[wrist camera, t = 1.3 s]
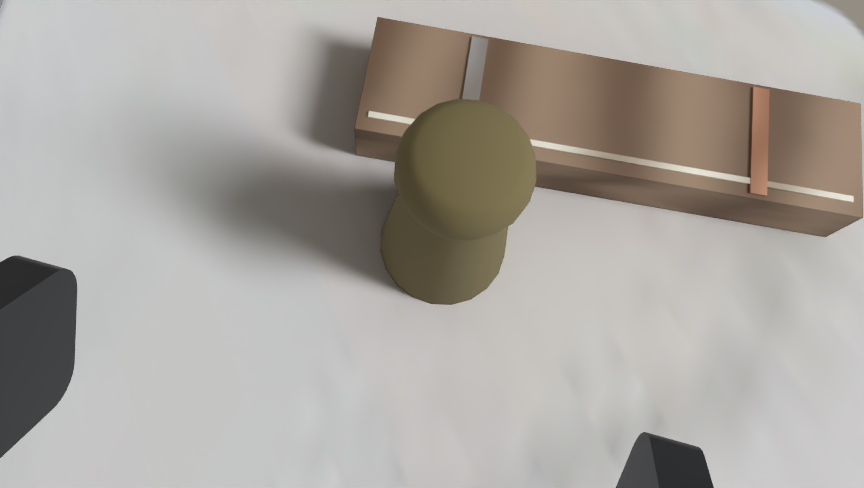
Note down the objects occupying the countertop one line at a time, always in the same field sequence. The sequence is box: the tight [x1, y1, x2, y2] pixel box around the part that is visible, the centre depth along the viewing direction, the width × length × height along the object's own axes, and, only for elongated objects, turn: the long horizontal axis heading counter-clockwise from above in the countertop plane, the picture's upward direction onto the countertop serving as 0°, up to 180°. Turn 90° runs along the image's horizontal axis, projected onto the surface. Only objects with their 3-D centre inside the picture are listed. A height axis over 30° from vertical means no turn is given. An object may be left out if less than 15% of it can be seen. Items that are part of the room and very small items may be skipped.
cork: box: [381, 99, 536, 305], centre depth 31 cm, size 6×6×11 cm
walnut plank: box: [355, 17, 863, 237], centre depth 37 cm, size 24×6×3 cm, turn 81°
